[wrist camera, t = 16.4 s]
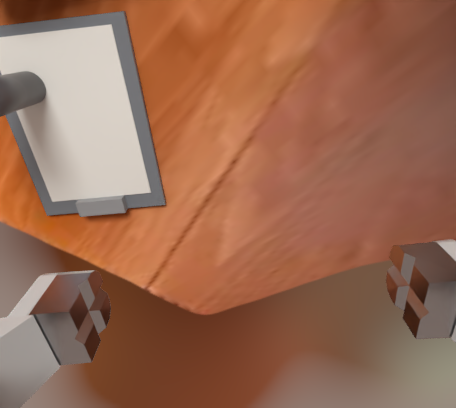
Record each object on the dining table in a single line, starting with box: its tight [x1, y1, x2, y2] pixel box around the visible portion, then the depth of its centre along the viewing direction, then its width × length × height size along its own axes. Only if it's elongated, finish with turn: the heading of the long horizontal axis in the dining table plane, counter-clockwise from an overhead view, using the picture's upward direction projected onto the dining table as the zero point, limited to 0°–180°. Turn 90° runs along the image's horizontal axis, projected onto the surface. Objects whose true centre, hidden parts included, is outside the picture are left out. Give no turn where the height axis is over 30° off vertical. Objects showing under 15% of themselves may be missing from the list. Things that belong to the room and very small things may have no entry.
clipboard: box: [0, 11, 166, 217], centre depth 38 cm, size 22×16×2 cm
